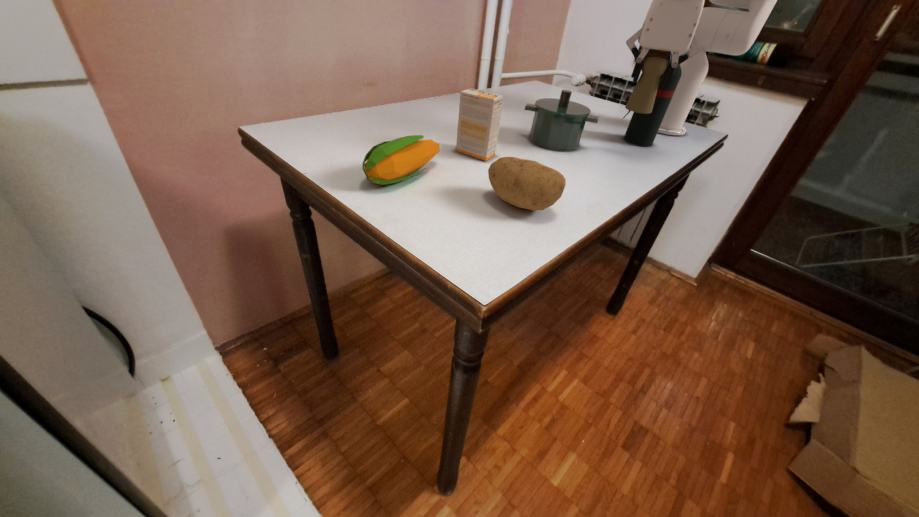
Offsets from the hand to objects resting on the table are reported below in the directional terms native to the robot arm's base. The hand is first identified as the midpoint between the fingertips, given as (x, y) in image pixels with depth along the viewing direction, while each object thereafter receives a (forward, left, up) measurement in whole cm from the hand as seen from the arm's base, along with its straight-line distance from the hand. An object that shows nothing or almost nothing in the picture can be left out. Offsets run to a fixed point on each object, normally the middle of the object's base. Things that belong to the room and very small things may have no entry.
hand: (648, 82), depth 83 cm
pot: (+2, -17, -17) cm, 24 cm away
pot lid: (+2, -17, -8) cm, 19 cm away
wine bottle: (-13, +4, -17) cm, 22 cm away
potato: (+39, -19, -17) cm, 47 cm away
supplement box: (+21, -33, -17) cm, 43 cm away
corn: (+38, -43, -17) cm, 60 cm away
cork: (0, 0, -6) cm, 6 cm away
